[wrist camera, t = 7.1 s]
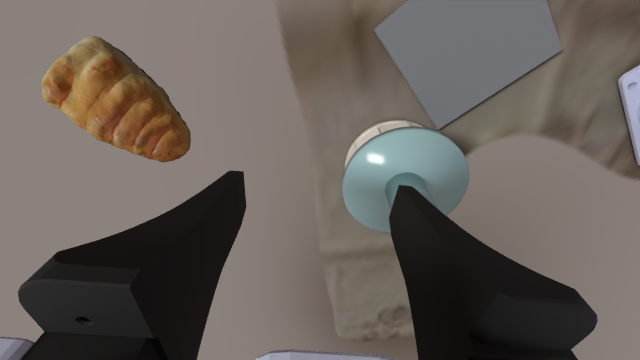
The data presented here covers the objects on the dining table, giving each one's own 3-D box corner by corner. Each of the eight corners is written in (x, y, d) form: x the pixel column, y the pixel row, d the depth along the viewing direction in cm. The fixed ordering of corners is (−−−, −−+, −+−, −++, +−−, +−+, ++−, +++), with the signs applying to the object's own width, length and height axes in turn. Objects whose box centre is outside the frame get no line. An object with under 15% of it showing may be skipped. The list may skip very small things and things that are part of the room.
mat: (557, 48, 18) (562, 49, 18) (436, 127, 22) (437, 129, 21) (511, -91, 15) (516, -94, 14) (373, 29, 18) (374, 30, 18)
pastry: (214, 120, 22) (195, 140, 19) (172, 169, 25) (150, 194, 21) (98, 25, 18) (49, 30, 15) (64, 94, 21) (17, 110, 18)
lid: (483, 190, 21) (524, 240, 16) (382, 241, 24) (394, 294, 20) (429, 98, 17) (465, 131, 13) (318, 174, 20) (316, 221, 16)
